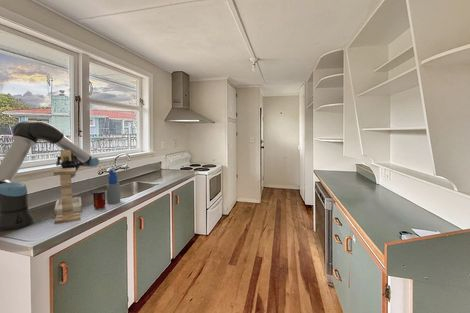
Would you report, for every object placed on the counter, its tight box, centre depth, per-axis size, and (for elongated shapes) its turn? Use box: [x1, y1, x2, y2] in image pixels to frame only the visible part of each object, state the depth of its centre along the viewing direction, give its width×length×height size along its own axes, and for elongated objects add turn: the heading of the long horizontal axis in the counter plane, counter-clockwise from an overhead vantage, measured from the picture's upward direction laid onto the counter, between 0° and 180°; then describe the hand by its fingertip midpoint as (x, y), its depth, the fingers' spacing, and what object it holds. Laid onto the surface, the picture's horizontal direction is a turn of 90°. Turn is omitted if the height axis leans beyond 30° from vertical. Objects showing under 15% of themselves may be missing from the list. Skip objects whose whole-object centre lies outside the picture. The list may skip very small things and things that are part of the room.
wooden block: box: [60, 150, 71, 162], centre depth 147 cm, size 18×5×6 cm, turn 35°
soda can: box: [92, 189, 107, 210], centre depth 156 cm, size 7×7×12 cm
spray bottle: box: [105, 168, 121, 205], centre depth 168 cm, size 9×9×25 cm
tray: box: [53, 196, 83, 217], centre depth 155 cm, size 26×14×4 cm, turn 35°
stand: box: [53, 167, 82, 225], centre depth 135 cm, size 14×12×30 cm
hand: (66, 153), depth 147 cm, fingers closed on wooden block, 3 cm apart
